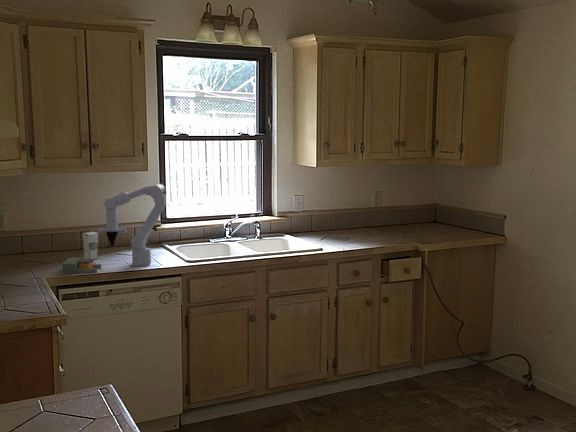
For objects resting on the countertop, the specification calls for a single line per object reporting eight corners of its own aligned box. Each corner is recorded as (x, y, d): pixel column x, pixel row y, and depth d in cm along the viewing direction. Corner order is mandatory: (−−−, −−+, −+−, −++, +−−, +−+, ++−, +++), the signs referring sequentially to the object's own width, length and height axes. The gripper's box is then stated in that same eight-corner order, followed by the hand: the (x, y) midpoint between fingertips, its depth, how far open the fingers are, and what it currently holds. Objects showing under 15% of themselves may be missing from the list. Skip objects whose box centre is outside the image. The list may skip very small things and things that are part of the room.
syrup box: (92, 257, 336) (91, 231, 334) (98, 258, 332) (97, 232, 330) (83, 258, 332) (82, 232, 330) (89, 260, 328) (88, 233, 326)
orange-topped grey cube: (92, 269, 309) (92, 259, 308) (88, 271, 304) (88, 261, 303) (83, 268, 310) (83, 259, 309) (79, 271, 305) (78, 261, 304)
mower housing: (102, 267, 313) (101, 257, 313) (96, 273, 300) (95, 263, 299) (69, 267, 312) (69, 257, 311) (62, 273, 298) (62, 263, 297)
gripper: (127, 219, 323) (127, 244, 325) (99, 219, 321) (100, 244, 323) (125, 221, 316) (125, 247, 318) (96, 221, 315) (97, 247, 317)
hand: (112, 246), depth 320 cm, fingers closed
